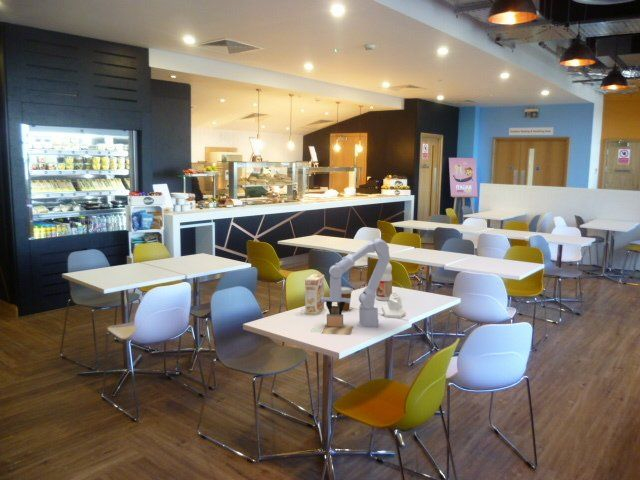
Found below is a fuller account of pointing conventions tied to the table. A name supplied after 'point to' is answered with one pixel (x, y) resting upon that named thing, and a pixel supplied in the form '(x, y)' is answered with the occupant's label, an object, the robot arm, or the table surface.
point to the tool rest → (316, 330)
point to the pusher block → (335, 310)
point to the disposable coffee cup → (345, 294)
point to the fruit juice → (385, 285)
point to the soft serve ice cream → (393, 307)
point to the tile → (334, 320)
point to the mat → (338, 330)
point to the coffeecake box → (314, 294)
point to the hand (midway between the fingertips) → (335, 316)
